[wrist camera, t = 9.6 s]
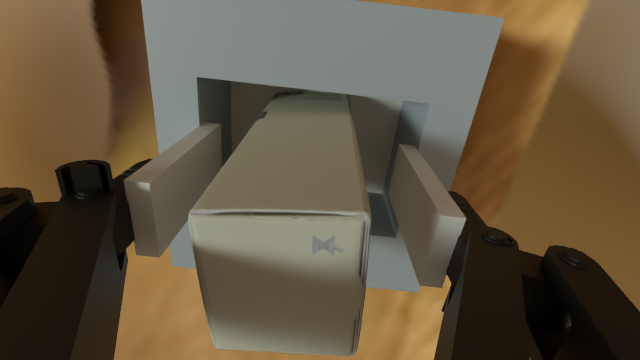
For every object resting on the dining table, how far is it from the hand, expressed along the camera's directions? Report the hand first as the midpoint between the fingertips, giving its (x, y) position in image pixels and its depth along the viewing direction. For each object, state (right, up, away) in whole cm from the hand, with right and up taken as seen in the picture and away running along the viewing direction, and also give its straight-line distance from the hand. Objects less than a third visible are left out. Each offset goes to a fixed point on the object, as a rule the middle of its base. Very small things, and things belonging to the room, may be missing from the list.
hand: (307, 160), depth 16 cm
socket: (0, +2, +4) cm, 5 cm away
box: (0, +2, +4) cm, 4 cm away
